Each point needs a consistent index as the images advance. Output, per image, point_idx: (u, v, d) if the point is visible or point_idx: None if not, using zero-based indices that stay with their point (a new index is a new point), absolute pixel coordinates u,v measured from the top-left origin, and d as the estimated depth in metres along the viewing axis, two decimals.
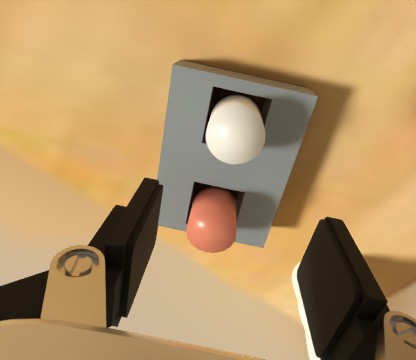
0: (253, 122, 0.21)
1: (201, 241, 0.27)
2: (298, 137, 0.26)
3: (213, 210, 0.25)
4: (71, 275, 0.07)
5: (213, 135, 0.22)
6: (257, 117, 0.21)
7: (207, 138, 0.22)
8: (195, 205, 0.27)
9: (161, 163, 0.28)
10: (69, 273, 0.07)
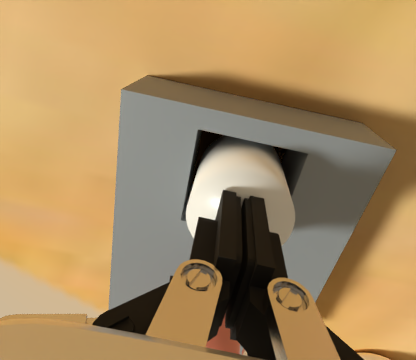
0: (273, 196, 0.12)
1: None
2: (351, 216, 0.14)
3: None
4: (190, 286, 0.07)
5: (200, 216, 0.12)
6: (281, 188, 0.11)
7: (189, 220, 0.12)
8: None
9: (115, 248, 0.17)
10: (189, 283, 0.07)
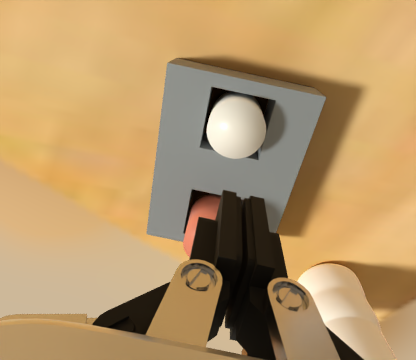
0: (254, 116, 0.22)
1: None
2: (304, 141, 0.24)
3: None
4: (190, 286, 0.07)
5: (214, 130, 0.22)
6: (258, 111, 0.21)
7: (208, 132, 0.22)
8: (193, 215, 0.25)
9: (156, 169, 0.26)
10: (189, 283, 0.07)
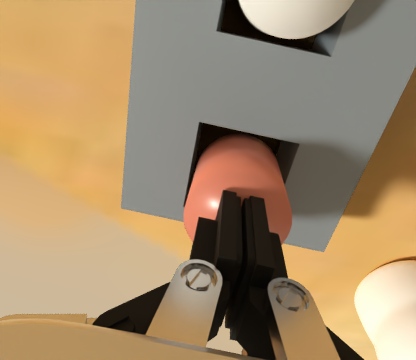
0: None
1: None
2: None
3: (243, 169, 0.11)
4: (190, 286, 0.07)
5: None
6: None
7: None
8: (202, 165, 0.13)
9: (133, 83, 0.14)
10: (189, 283, 0.07)
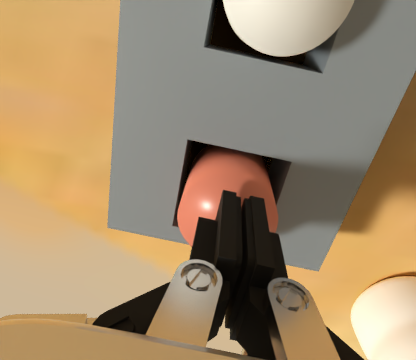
0: None
1: None
2: None
3: (232, 172, 0.12)
4: (190, 286, 0.07)
5: None
6: None
7: None
8: (195, 169, 0.14)
9: (118, 99, 0.13)
10: (188, 283, 0.07)
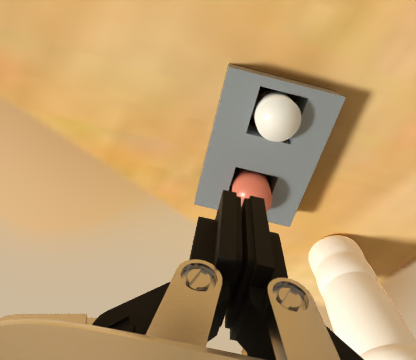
0: (293, 109, 0.29)
1: None
2: (327, 130, 0.31)
3: (255, 181, 0.32)
4: (190, 286, 0.07)
5: (262, 119, 0.29)
6: (296, 105, 0.29)
7: (257, 121, 0.30)
8: (238, 179, 0.34)
9: (209, 150, 0.33)
10: (189, 283, 0.07)
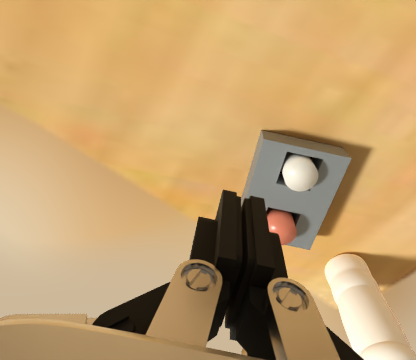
0: (312, 169, 0.39)
1: None
2: (338, 181, 0.41)
3: (283, 219, 0.43)
4: (190, 286, 0.07)
5: (289, 176, 0.40)
6: (314, 167, 0.39)
7: (285, 177, 0.40)
8: (269, 216, 0.45)
9: (247, 195, 0.44)
10: (189, 283, 0.07)
